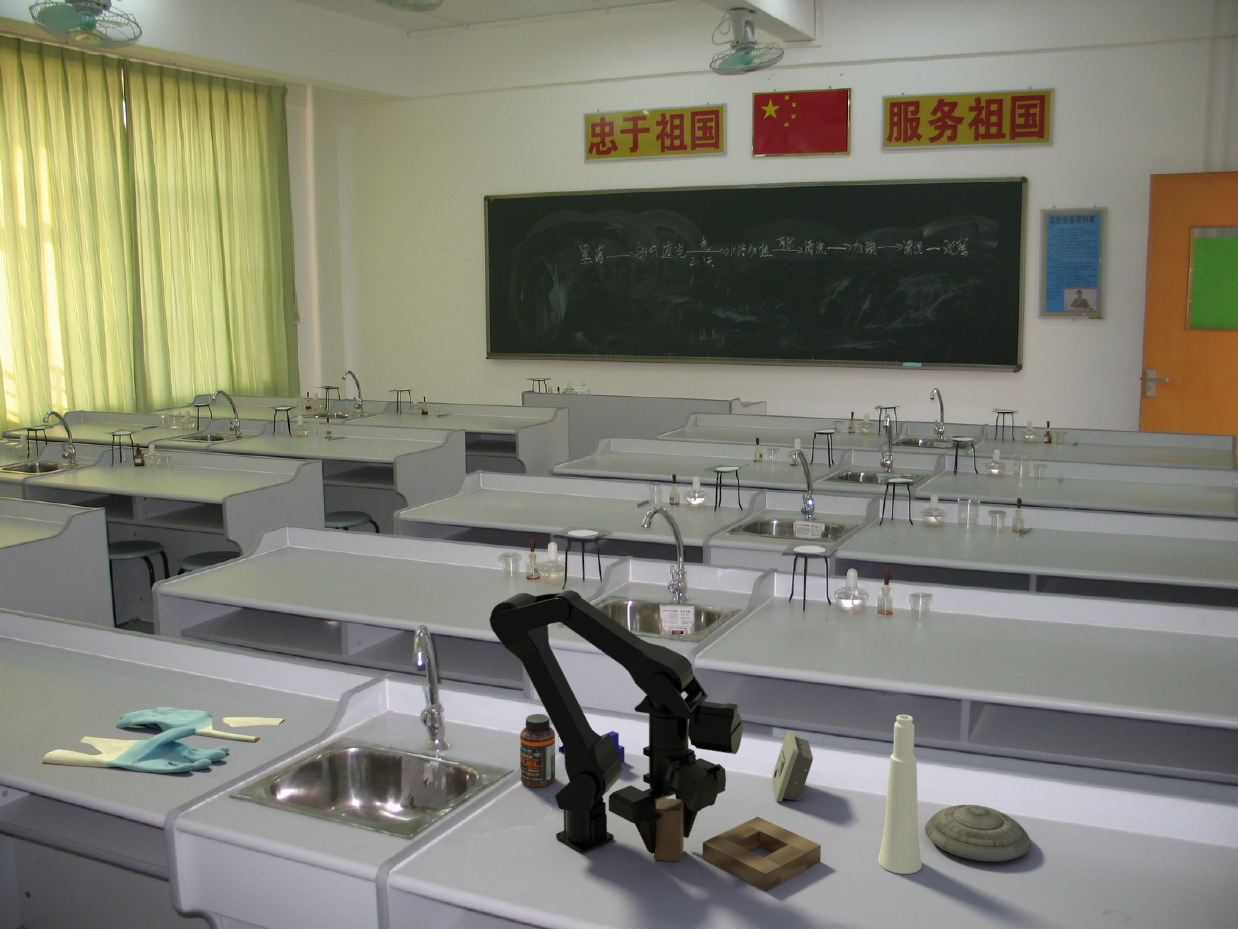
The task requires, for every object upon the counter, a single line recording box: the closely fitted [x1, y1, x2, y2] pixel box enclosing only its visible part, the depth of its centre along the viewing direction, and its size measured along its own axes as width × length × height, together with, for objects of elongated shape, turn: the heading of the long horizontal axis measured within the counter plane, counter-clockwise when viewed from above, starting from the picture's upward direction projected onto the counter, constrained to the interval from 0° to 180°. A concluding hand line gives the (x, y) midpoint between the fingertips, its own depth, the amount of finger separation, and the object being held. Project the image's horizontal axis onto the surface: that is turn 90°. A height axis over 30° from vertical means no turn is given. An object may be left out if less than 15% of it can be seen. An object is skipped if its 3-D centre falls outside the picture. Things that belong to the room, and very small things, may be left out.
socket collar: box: [702, 816, 822, 892], centre depth 154 cm, size 12×12×2 cm
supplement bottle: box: [519, 713, 556, 788], centre depth 180 cm, size 6×6×11 cm
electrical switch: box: [771, 729, 814, 803], centre depth 176 cm, size 9×5×9 cm, turn 176°
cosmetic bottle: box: [878, 714, 923, 875], centre depth 151 cm, size 6×6×22 cm
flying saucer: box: [924, 804, 1032, 862], centre depth 159 cm, size 15×15×6 cm
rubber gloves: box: [41, 706, 285, 774], centre depth 199 cm, size 27×33×6 cm
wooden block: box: [653, 797, 685, 863], centre depth 155 cm, size 4×4×8 cm
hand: (668, 844), depth 155 cm, fingers open, 7 cm apart
